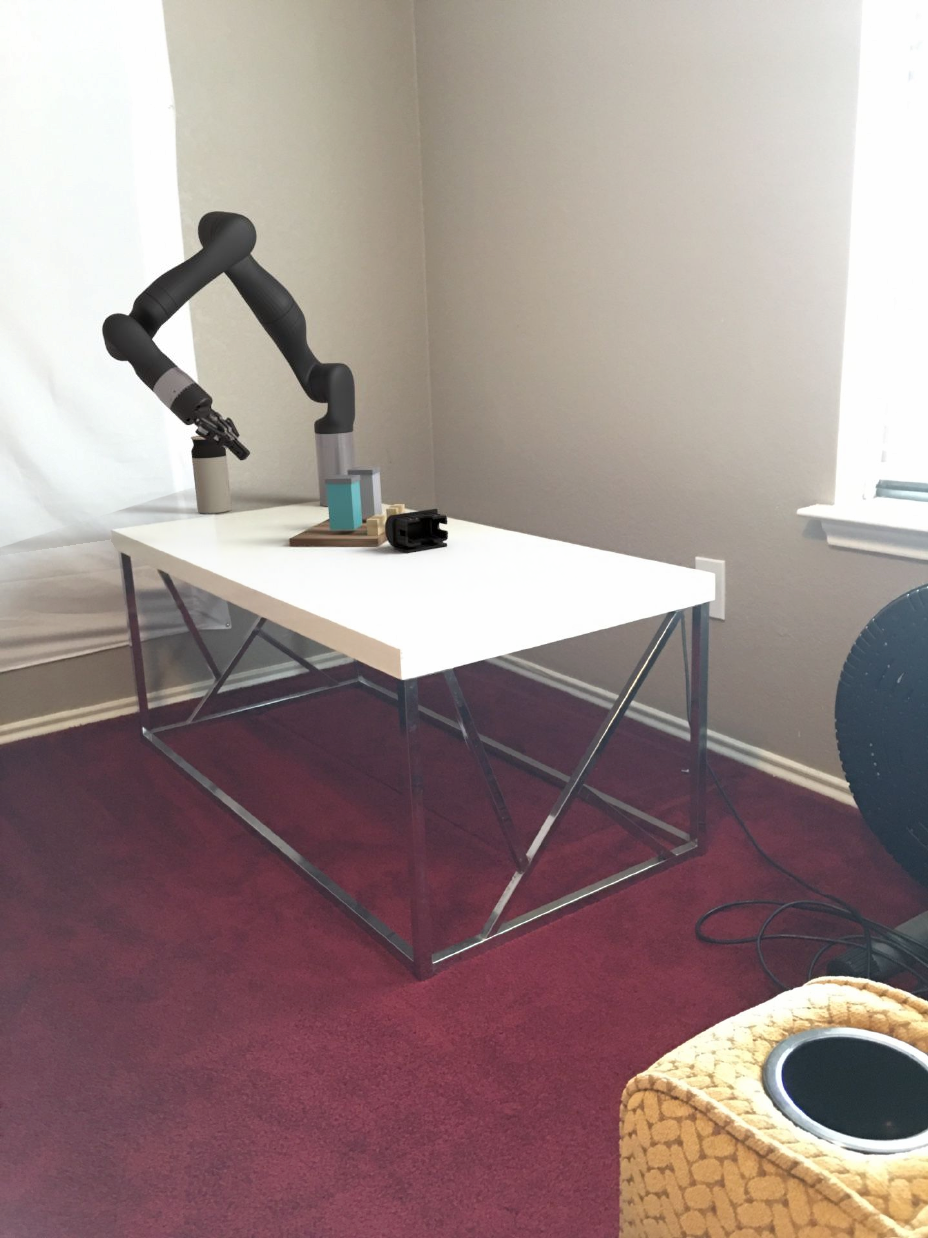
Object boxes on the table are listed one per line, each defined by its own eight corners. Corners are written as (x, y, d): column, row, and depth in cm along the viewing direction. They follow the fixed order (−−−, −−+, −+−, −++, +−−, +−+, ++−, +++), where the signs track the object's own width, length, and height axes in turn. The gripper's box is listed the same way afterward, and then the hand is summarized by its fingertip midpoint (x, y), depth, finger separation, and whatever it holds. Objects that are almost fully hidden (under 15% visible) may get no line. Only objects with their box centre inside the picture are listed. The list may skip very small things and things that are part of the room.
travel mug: (237, 508, 251) (229, 433, 247) (222, 514, 244) (214, 437, 239) (207, 508, 253) (199, 434, 248) (192, 514, 246) (183, 437, 241)
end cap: (430, 541, 201) (428, 506, 199) (450, 546, 195) (448, 510, 193) (385, 548, 195) (383, 513, 194) (404, 554, 190) (402, 517, 188)
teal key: (337, 524, 208) (334, 475, 205) (363, 524, 207) (360, 474, 204) (328, 529, 203) (324, 478, 200) (354, 529, 202) (351, 478, 199)
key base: (335, 522, 226) (333, 502, 225) (414, 522, 222) (413, 501, 221) (289, 546, 201) (287, 523, 200) (378, 546, 197) (376, 523, 196)
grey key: (359, 513, 220) (355, 466, 217) (383, 513, 219) (380, 466, 216) (350, 518, 215) (347, 470, 212) (375, 518, 214) (372, 469, 211)
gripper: (177, 383, 197) (243, 446, 198) (208, 380, 210) (270, 439, 210) (155, 412, 200) (220, 475, 200) (187, 407, 212) (248, 466, 213)
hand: (246, 456), depth 205 cm, fingers closed
